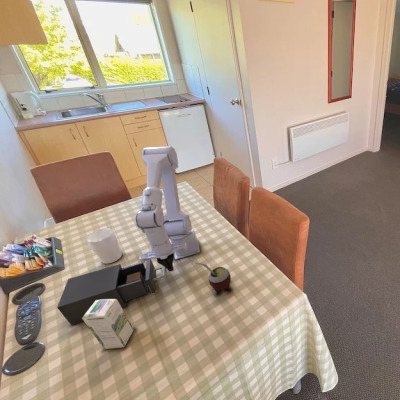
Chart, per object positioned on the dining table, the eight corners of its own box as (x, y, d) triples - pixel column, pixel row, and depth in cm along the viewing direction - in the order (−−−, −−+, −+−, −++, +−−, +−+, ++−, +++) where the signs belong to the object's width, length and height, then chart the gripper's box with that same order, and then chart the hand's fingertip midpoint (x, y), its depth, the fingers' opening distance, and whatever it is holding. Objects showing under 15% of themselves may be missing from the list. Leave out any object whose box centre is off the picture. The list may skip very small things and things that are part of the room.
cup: (112, 267, 104) (98, 243, 98) (93, 264, 106) (78, 240, 100) (130, 252, 112) (119, 229, 106) (112, 249, 114) (100, 226, 107)
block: (144, 279, 96) (140, 271, 94) (143, 287, 93) (139, 278, 91) (131, 283, 95) (127, 275, 92) (130, 291, 91) (125, 283, 89)
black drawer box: (129, 280, 98) (119, 263, 94) (125, 306, 89) (115, 288, 84) (80, 296, 93) (68, 278, 88) (71, 325, 83) (56, 307, 78)
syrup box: (115, 331, 81) (94, 299, 74) (135, 329, 81) (116, 297, 74) (104, 349, 76) (79, 317, 69) (125, 347, 76) (103, 315, 69)
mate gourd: (236, 283, 96) (228, 252, 89) (223, 300, 90) (213, 268, 82) (219, 278, 98) (210, 247, 91) (205, 294, 92) (194, 263, 84)
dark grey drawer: (169, 267, 103) (163, 254, 99) (169, 288, 94) (163, 274, 90) (114, 284, 96) (106, 271, 92) (109, 308, 87) (100, 294, 83)
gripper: (133, 254, 84) (148, 284, 91) (183, 240, 90) (193, 269, 97) (135, 242, 90) (149, 271, 97) (181, 229, 95) (191, 257, 102)
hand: (171, 269), depth 97 cm, fingers closed
